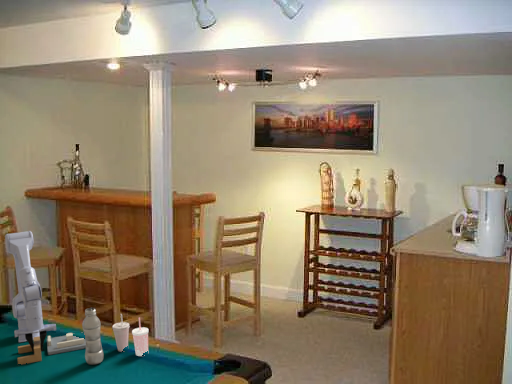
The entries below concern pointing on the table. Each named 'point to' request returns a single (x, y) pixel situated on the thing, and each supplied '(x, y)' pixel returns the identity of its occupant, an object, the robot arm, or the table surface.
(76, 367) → the table surface
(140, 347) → the beverage cup
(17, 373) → the table surface
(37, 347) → the wooden c-shaped bracket
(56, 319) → the table surface
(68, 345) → the stand
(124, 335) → the smoothie
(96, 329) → the plastic bottle
